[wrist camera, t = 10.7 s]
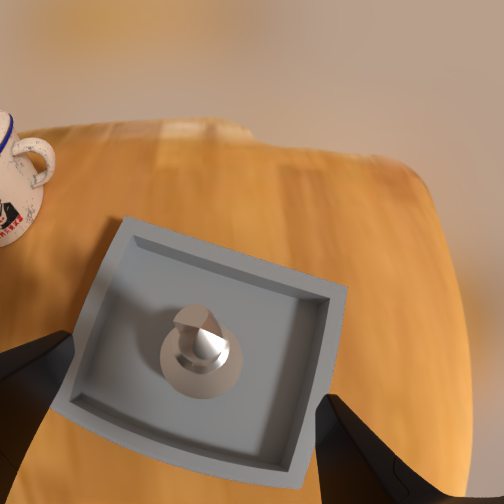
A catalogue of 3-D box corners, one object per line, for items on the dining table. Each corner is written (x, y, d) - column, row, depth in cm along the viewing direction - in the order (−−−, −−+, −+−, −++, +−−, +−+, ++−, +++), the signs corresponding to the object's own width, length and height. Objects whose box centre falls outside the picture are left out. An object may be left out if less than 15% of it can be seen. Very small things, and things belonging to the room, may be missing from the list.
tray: (66, 406, 14) (50, 408, 12) (132, 232, 21) (125, 215, 19) (289, 478, 15) (300, 489, 13) (333, 297, 21) (347, 286, 19)
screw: (179, 314, 18) (247, 339, 18) (154, 381, 16) (225, 406, 16) (145, 201, 7) (329, 266, 7) (62, 383, 5) (276, 464, 5)
